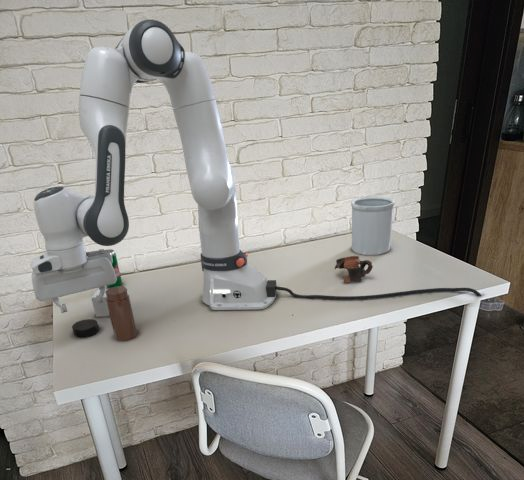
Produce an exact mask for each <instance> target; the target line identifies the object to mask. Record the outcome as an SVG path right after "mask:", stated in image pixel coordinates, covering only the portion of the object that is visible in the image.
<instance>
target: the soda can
mask: <svg viewBox="0 0 524 480" xmlns="http://www.w3.org/2000/svg"><path fill="white" fill-rule="evenodd" d="M106 250H107V251H109V252H110V253H111V254H112V258H113V263H112V266H113V269H114V271H115V274H116V277H117V281H116V283H115V284H111V285H107V286H106V287H107V289H109V288H112V287H117V286H123V281H122V280H123V279H122V276H121V272H120V267H119V266H120V265H119V262H118V258H117V254H116V252H115V250H114V249H111V248H109V249H106ZM105 253H106V252H105Z"/></svg>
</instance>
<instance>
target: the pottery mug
mask: <svg viewBox="0 0 524 480" xmlns="http://www.w3.org/2000/svg"><path fill="white" fill-rule="evenodd" d="M335 262H336V264H335V266H334V268H333V269H334V270H337V269H339V270H341V269H342V270H343V269H344V270H346V271H347V273H348V274H346V275H343V276H342V281H343V283H344V284H346V283H347V284H348V283H352V282H353V283H356V282H362V278H365V276H366V275H369V273H370V272H371V271H372V270H373V267H374V266H373V263H372V261H371V260H369V259H365V260H361V259H360V256H359V255H351V256H344V257H340V258H338V259H336V261H335ZM366 266H367V268H366ZM365 268H366V269H365Z"/></svg>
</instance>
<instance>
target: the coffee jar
mask: <svg viewBox="0 0 524 480" xmlns="http://www.w3.org/2000/svg"><path fill="white" fill-rule="evenodd" d="M106 289H107V290H106V292H105V293H106V297H107V298H106V302H107V306H108V311H109V315H110V316H109V319H110V323H111V327H112V331H113V336H114V339H115V340H116V341H119V342H120V341H121V342H125V341H129V340H133V339H134V338H136V337H137V335H138V331H137V325H136V321H135V316H134V311H133V307H132V303H131V298H130V295H129V294H128V288H127V287H125V286H123V285H121V286H117V287H112V288H106Z"/></svg>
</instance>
